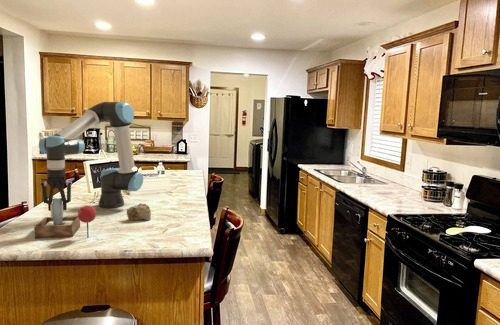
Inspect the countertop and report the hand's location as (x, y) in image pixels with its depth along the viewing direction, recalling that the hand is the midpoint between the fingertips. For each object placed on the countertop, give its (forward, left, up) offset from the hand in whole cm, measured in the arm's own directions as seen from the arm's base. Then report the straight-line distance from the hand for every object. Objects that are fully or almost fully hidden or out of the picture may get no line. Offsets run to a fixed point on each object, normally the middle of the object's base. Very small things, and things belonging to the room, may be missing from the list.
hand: (57, 217), depth 182 cm
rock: (-36, -19, -8) cm, 42 cm away
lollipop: (-15, +10, -8) cm, 20 cm away
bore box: (0, 0, -8) cm, 8 cm away
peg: (0, 0, -3) cm, 3 cm away
